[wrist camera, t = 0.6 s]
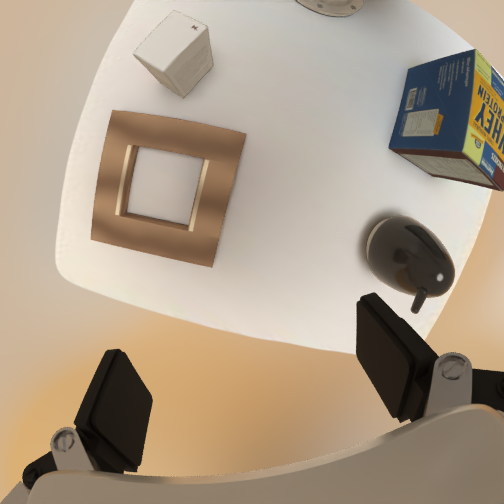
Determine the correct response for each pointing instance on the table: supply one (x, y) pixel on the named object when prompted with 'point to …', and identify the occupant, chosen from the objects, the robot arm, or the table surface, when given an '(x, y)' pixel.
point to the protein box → (454, 120)
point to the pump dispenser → (410, 259)
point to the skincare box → (177, 52)
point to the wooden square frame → (206, 198)
